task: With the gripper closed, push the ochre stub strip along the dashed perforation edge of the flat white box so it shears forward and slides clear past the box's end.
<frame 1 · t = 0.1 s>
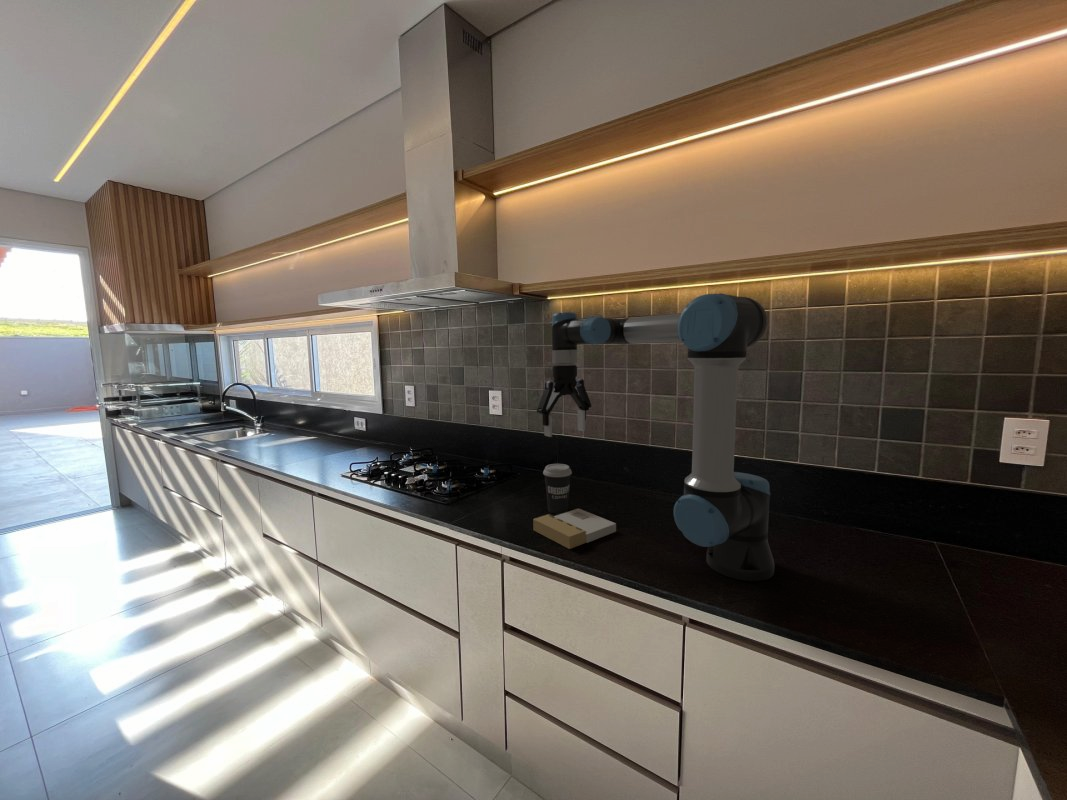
hand: (565, 433, 135), 28 cm above the worktop, fingers open, 13 cm apart
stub: (558, 530, 125), point 2 cm above the worktop, slide at 0.0 cm
flat white box: (582, 528, 131), on the worktop
coffee cup: (557, 510, 146), on the worktop
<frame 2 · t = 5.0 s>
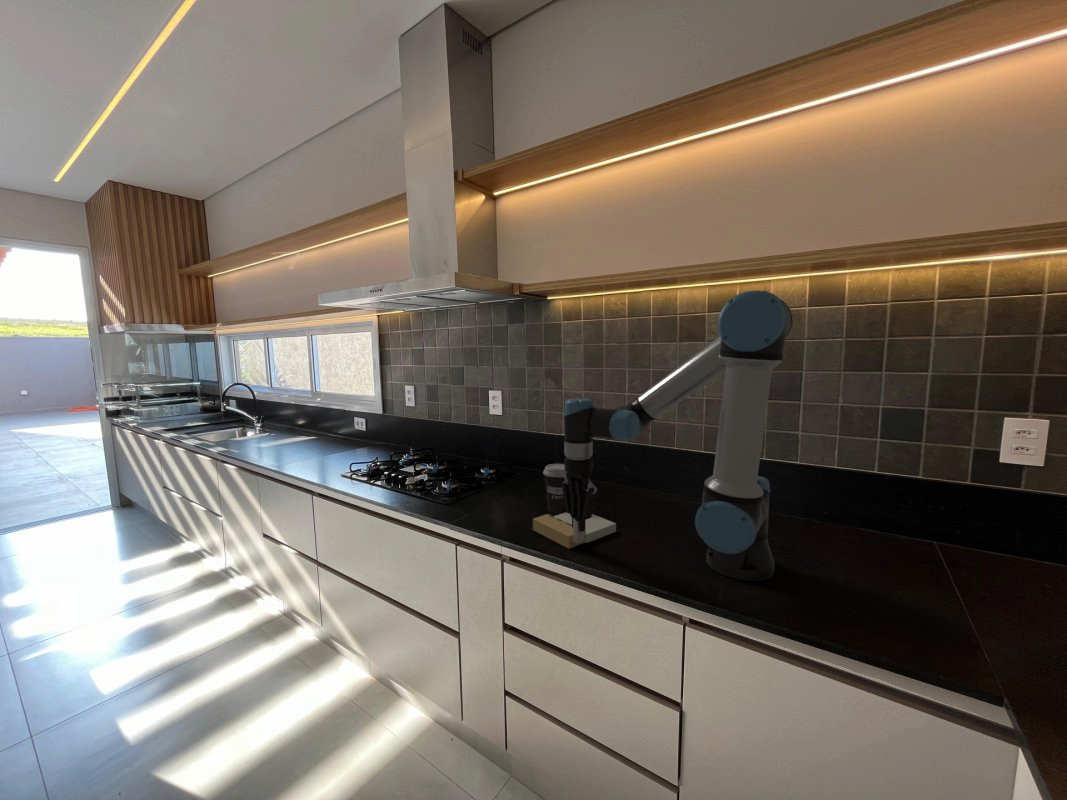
hand: (578, 541, 119), 2 cm above the worktop, fingers closed
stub: (557, 529, 126), point 2 cm above the worktop, slide at 0.2 cm, touching gripper
everything else where it was.
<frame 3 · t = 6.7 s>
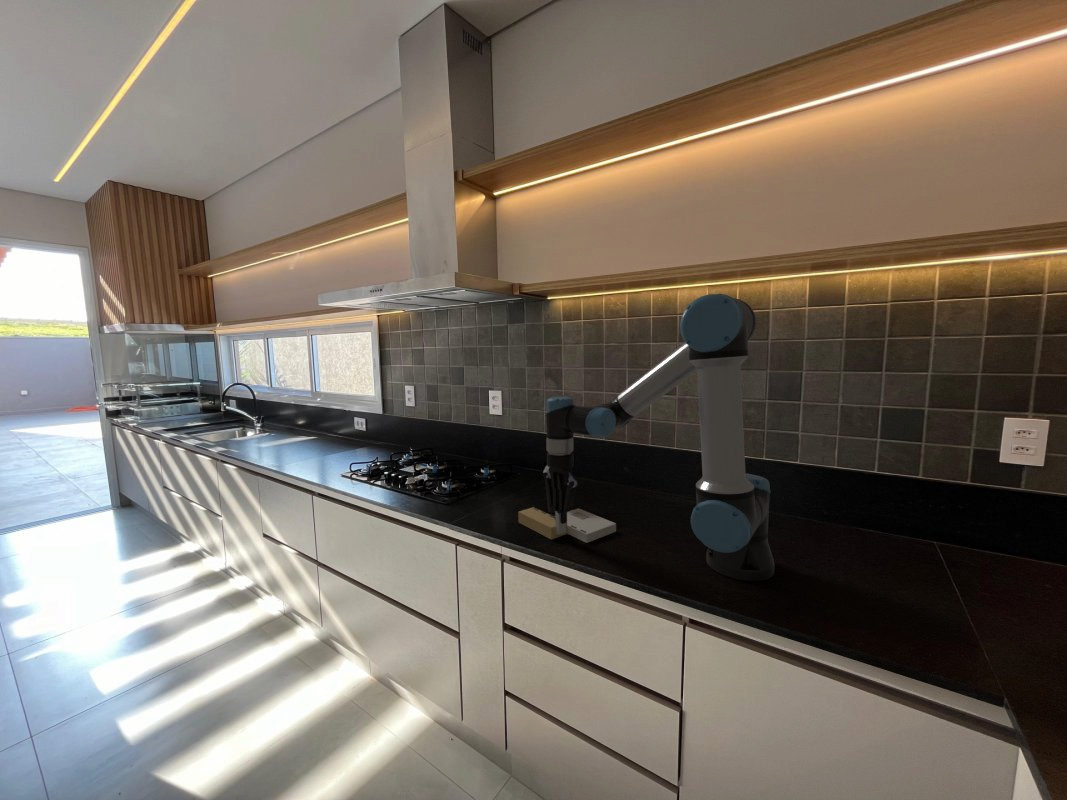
hand: (560, 532, 125), 2 cm above the worktop, fingers closed
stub: (541, 522, 131), point 2 cm above the worktop, slide at 7.7 cm, touching gripper
everything else where it was.
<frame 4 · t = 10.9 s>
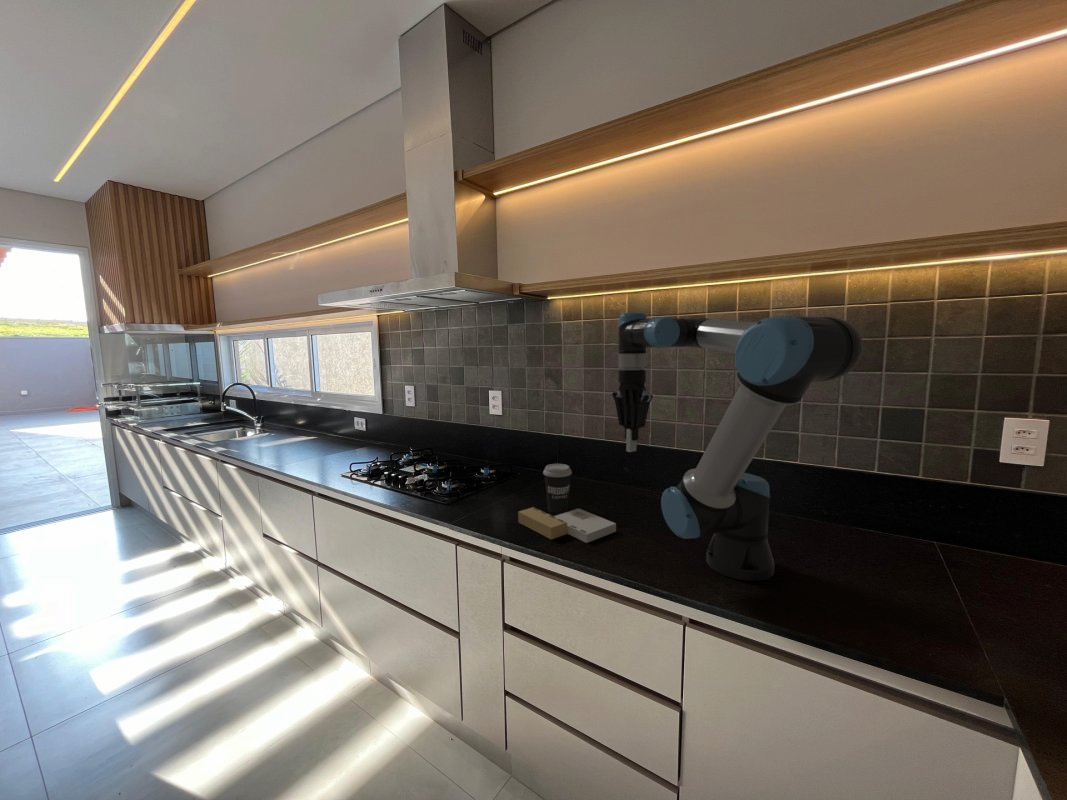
hand: (631, 450, 125), 24 cm above the worktop, fingers closed
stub: (541, 522, 131), point 2 cm above the worktop, slide at 7.7 cm
everything else where it was.
at the end: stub slide at 7.7 cm; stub touching nothing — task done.
